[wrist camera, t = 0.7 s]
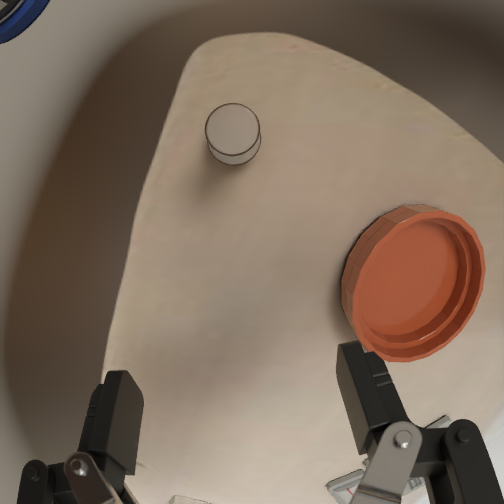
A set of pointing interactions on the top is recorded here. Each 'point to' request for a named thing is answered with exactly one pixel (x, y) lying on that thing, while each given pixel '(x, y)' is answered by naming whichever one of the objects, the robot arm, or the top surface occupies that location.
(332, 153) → the top surface
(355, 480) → the office telephone
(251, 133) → the muddler
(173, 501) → the white cube
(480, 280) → the bowl
